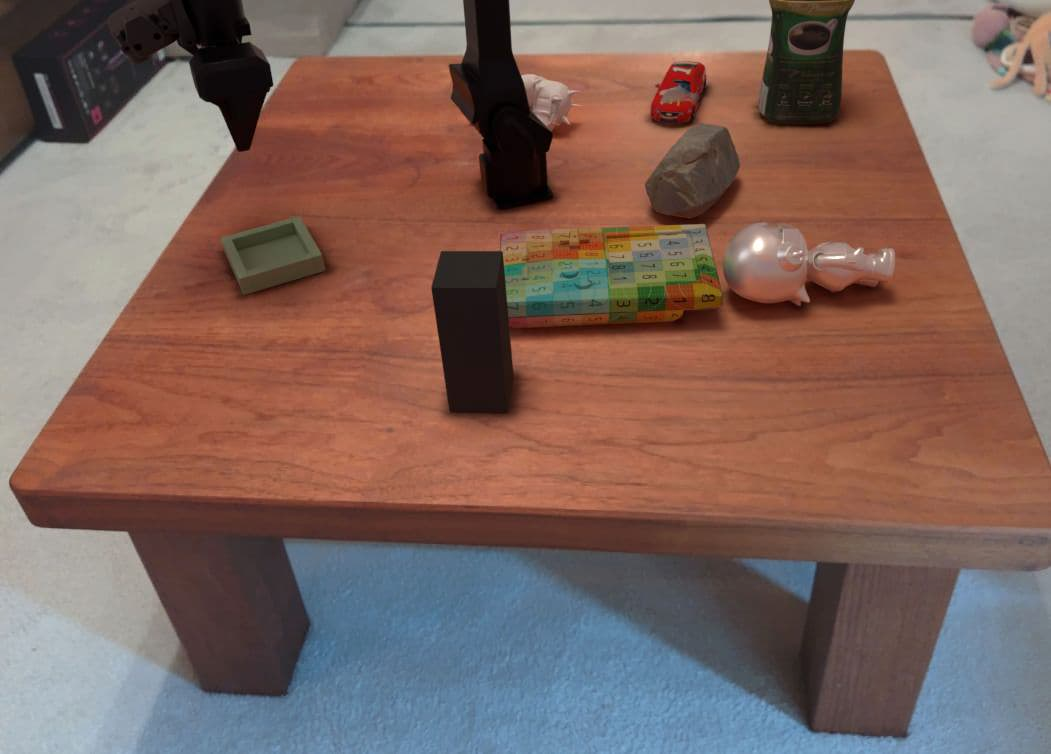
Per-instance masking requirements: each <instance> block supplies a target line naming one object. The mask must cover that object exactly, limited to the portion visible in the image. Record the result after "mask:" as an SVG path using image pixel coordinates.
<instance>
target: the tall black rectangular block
mask: <svg viewBox="0 0 1051 754" xmlns="http://www.w3.org/2000/svg"><path fill="white" fill-rule="evenodd" d="M430 288H431V296H432V301H433V302H432V303H433V309H434V310H433V311H434V315H435V321H436V323H435V324H436V329H437V336H438V343H439V350H440V357H441V363H442V369H443V376H444V377H443V378H444V383H445V391H446V396H447V397H446V398H447V403H448V405H447V406H448V411H449V412H450V413H489V414H491V413H492V414H494V413H495V414H496V413H497V414H498V413H500V414H502V413H503V414H508V413H509V407H510V401H511V395H512V386H513V382H514V381H513V380H514V365H513V353H512V344H511V343H512V342H511V341H512V339H511V330H510V325H509V317H508V306H507V295H506V283H505V272H504V260H503V251H500V250H441V251H440V254H439V257H438V261H437V265H436V268H435V273H434V276H433V280H432V284H431V287H430Z"/></svg>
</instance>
